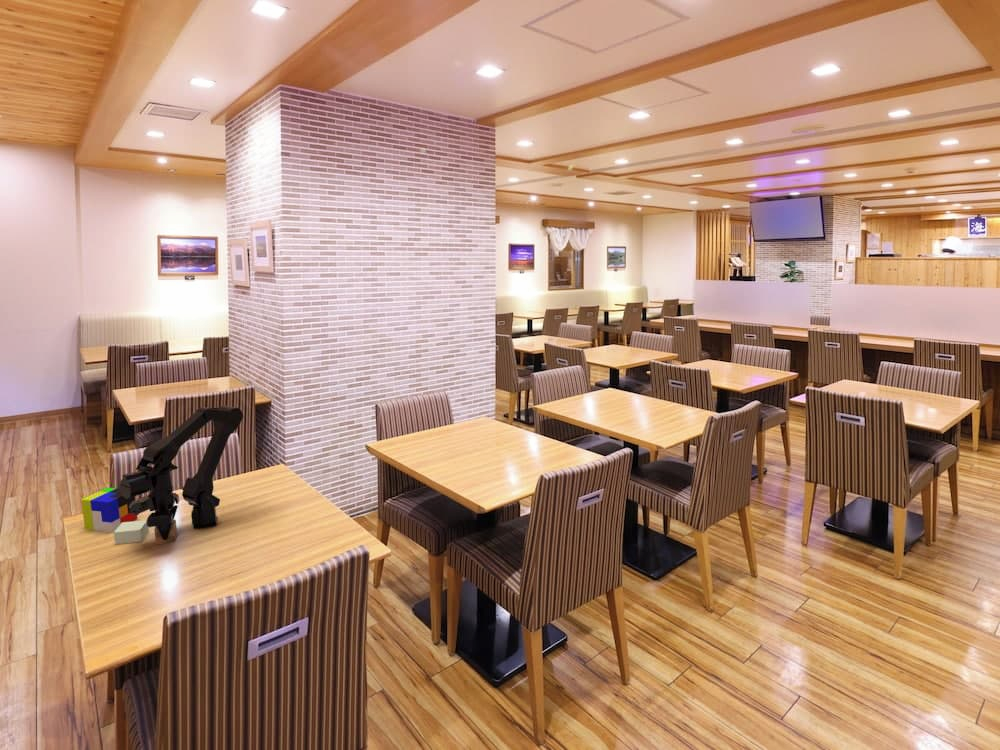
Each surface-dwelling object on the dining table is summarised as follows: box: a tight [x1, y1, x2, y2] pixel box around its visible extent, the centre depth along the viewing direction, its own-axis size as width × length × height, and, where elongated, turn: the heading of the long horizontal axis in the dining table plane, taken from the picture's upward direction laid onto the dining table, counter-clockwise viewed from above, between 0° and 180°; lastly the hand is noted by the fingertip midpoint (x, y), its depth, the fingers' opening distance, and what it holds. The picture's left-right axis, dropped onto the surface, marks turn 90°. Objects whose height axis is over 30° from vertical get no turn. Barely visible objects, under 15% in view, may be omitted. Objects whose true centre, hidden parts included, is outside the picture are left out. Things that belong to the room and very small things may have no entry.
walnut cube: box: [154, 519, 178, 545], centre depth 183 cm, size 5×5×5 cm
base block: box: [113, 519, 150, 545], centre depth 185 cm, size 7×7×4 cm
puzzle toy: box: [80, 487, 138, 533], centre depth 193 cm, size 10×10×10 cm
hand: (166, 535), depth 184 cm, fingers closed on walnut cube, 5 cm apart
